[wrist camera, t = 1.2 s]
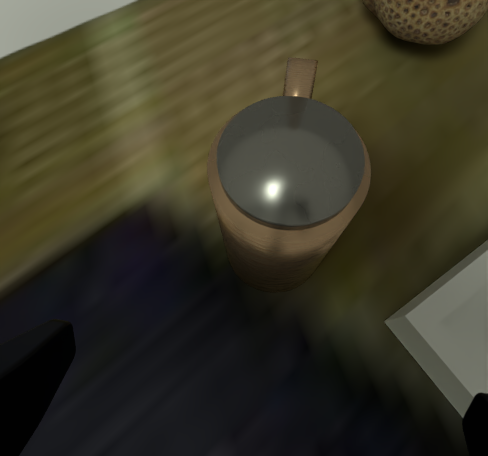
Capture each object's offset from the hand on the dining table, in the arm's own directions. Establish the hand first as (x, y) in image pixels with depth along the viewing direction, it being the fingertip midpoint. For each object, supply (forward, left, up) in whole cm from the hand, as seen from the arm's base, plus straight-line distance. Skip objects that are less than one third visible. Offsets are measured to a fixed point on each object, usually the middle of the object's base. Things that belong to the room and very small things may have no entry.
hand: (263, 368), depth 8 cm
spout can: (+5, -5, -13) cm, 15 cm away
